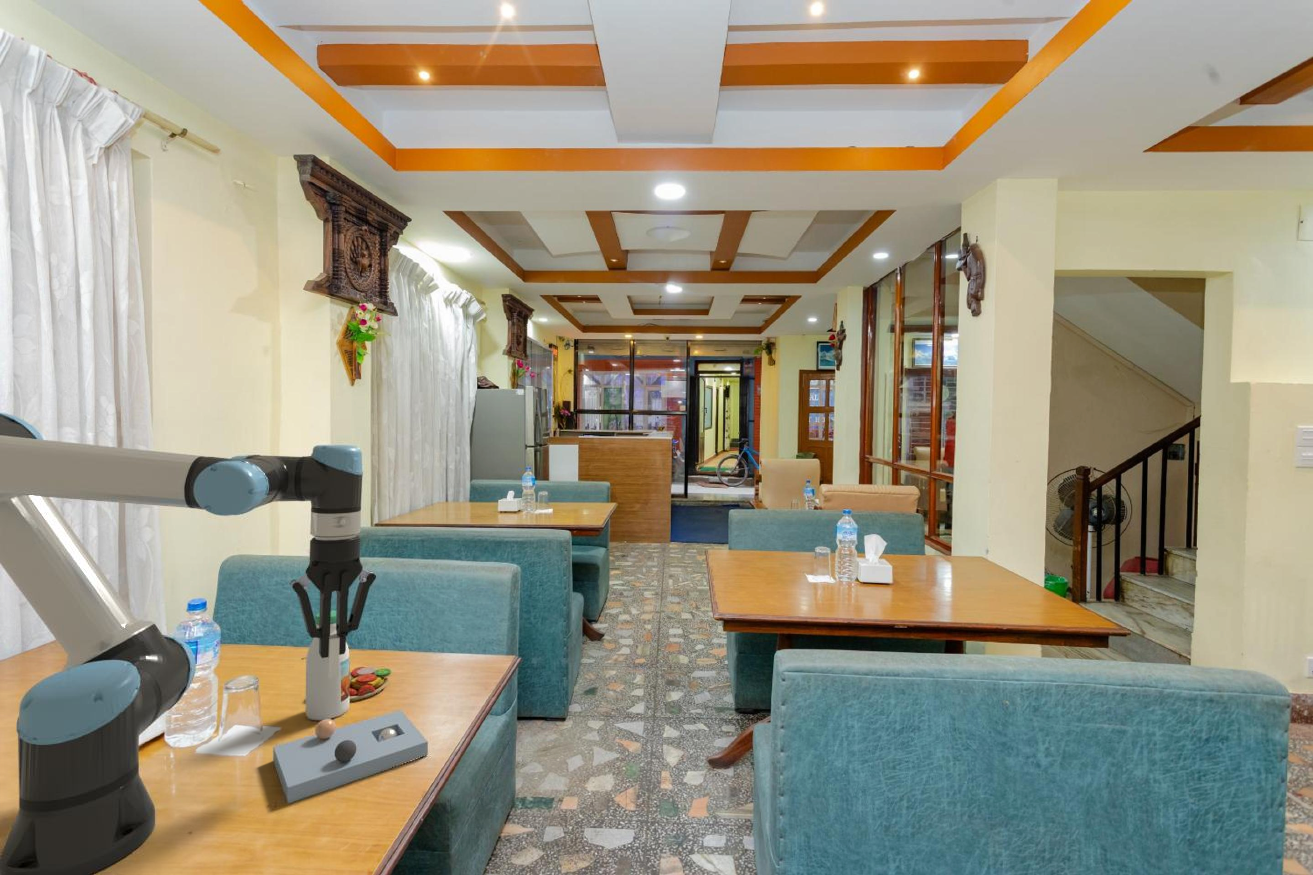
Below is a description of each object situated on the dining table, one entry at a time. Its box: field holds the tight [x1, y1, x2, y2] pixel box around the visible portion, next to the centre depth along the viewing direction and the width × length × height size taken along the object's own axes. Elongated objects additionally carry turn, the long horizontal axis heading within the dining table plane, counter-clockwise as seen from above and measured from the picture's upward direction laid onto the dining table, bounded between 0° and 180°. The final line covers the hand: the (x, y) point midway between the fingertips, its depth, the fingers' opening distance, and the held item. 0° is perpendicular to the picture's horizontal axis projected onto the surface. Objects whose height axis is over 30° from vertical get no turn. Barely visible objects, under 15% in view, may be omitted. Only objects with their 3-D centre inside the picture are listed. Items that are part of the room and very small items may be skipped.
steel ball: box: [378, 728, 398, 742], centre depth 106 cm, size 3×3×3 cm
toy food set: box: [350, 666, 392, 702], centre depth 130 cm, size 13×13×3 cm
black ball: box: [335, 740, 356, 762], centre depth 97 cm, size 3×3×3 cm
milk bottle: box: [305, 610, 351, 721], centre depth 119 cm, size 8×8×20 cm
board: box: [272, 709, 429, 805], centre depth 103 cm, size 21×15×2 cm
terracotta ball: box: [314, 718, 337, 739], centre depth 104 cm, size 3×3×3 cm
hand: (331, 674), depth 101 cm, fingers closed
